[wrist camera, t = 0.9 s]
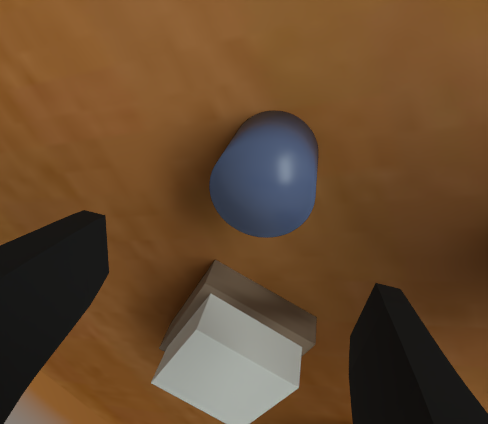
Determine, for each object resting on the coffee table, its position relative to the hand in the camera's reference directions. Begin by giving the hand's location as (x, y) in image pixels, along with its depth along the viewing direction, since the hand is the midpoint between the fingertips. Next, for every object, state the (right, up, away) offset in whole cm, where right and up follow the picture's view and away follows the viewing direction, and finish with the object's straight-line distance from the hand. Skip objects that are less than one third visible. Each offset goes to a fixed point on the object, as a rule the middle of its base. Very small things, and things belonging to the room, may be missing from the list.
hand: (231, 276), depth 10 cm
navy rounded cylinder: (+2, +4, +7) cm, 9 cm away
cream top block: (0, -6, +12) cm, 13 cm away
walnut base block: (0, -5, +14) cm, 15 cm away
